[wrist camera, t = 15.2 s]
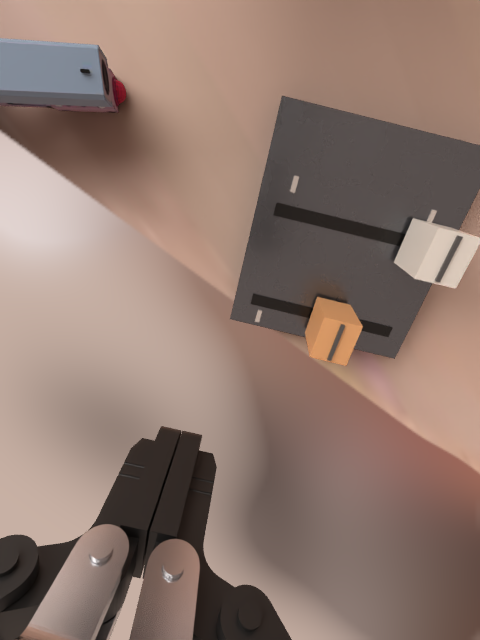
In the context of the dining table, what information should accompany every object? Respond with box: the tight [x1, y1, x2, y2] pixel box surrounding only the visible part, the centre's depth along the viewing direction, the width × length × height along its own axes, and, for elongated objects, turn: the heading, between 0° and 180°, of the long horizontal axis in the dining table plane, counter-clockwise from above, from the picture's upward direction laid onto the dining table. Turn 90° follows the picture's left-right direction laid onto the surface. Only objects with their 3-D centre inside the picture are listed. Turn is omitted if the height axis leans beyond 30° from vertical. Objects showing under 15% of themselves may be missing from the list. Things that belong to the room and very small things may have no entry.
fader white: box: [394, 218, 480, 289], centre depth 25 cm, size 4×3×5 cm
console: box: [230, 96, 480, 359], centre depth 28 cm, size 18×16×2 cm
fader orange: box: [305, 297, 363, 366], centre depth 28 cm, size 4×3×5 cm
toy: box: [0, 38, 126, 113], centre depth 23 cm, size 3×16×10 cm, turn 89°
